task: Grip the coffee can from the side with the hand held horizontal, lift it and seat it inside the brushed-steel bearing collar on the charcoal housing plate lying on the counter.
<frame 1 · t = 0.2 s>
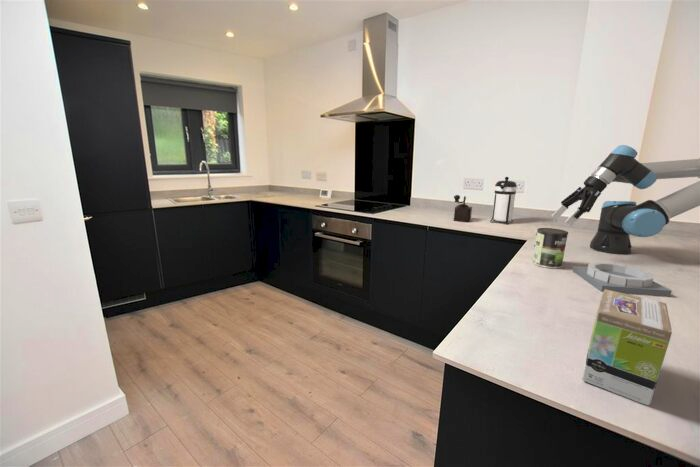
hand: (560, 220, 137), 15 cm above the worktop, tool tilted 35°, fingers open, 13 cm apart
coffee can: (546, 264, 127), on the worktop
coffee press: (501, 222, 211), on the worktop
manual coffee grinder: (461, 221, 213), on the worktop
housing: (616, 282, 109), on the worktop
gear: (543, 248, 150), on the worktop
tea box: (616, 374, 63), on the worktop
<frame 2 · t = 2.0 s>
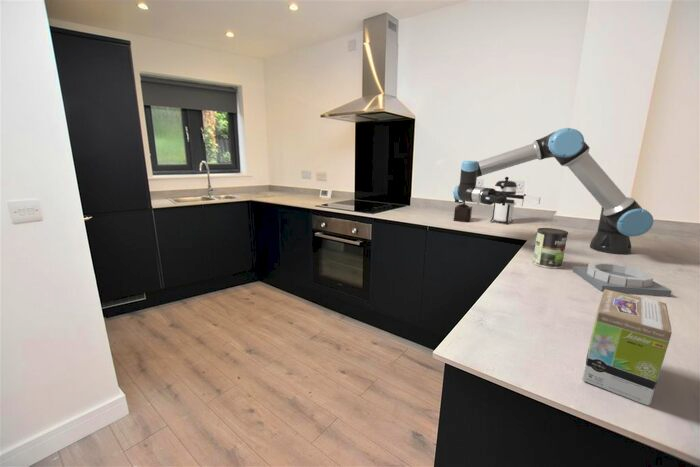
hand: (531, 201, 129), 24 cm above the worktop, tool horizontal, fingers open, 13 cm apart
nothing on the worktop moved.
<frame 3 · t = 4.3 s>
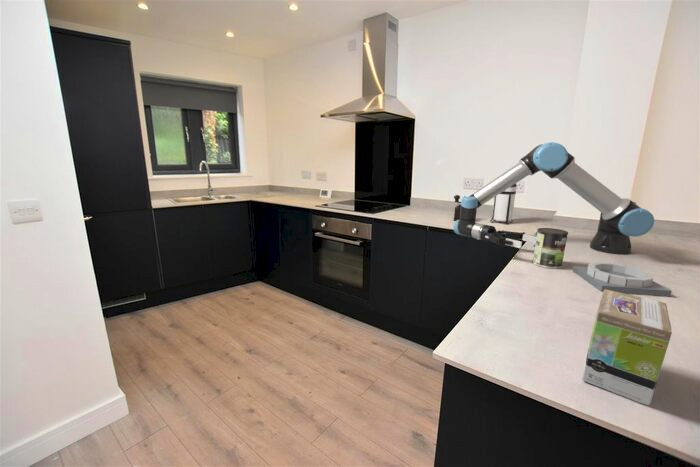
hand: (530, 242, 131), 7 cm above the worktop, tool horizontal, fingers open, 13 cm apart
nothing on the worktop moved.
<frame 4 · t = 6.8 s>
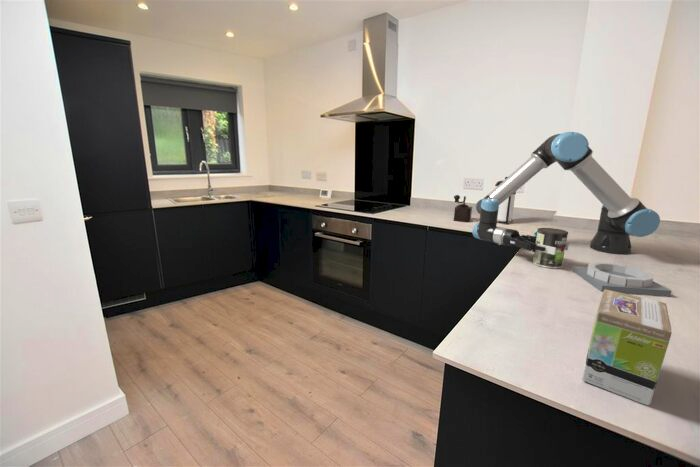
hand: (561, 249, 122), 8 cm above the worktop, tool horizontal, fingers closed on coffee can, 10 cm apart
coffee can: (546, 264, 127), on the worktop, touching gripper
everything else where it was.
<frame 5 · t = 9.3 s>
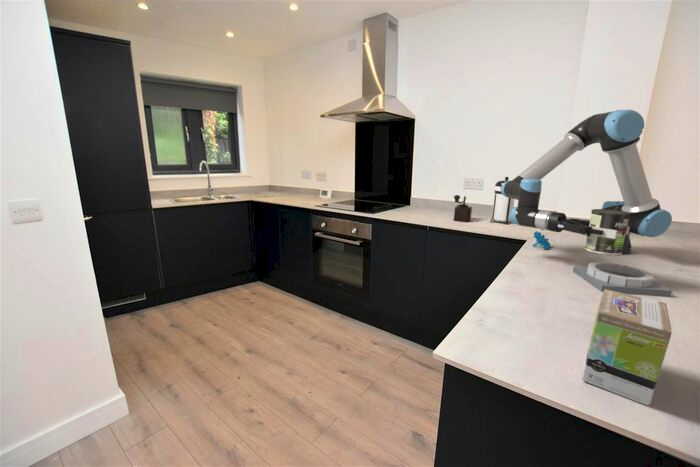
hand: (622, 232, 105), 18 cm above the worktop, tool horizontal, fingers closed on coffee can, 10 cm apart
coffee can: (602, 251, 110), point 10 cm above the worktop, touching gripper
everything else where it was.
when the fingers open (11 cm above the worktop, at t = 11.9 s): coffee can drops 1 cm, resting on housing.
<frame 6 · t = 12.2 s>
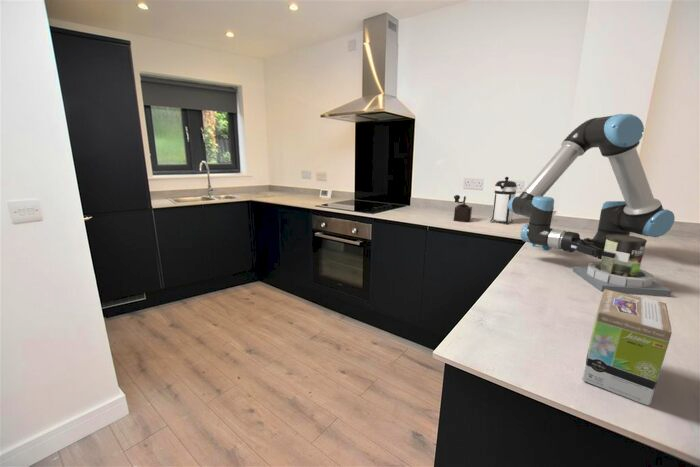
hand: (636, 254, 103), 11 cm above the worktop, tool horizontal, fingers open, 13 cm apart
coffee can: (617, 277, 108), point 2 cm above the worktop, touching housing
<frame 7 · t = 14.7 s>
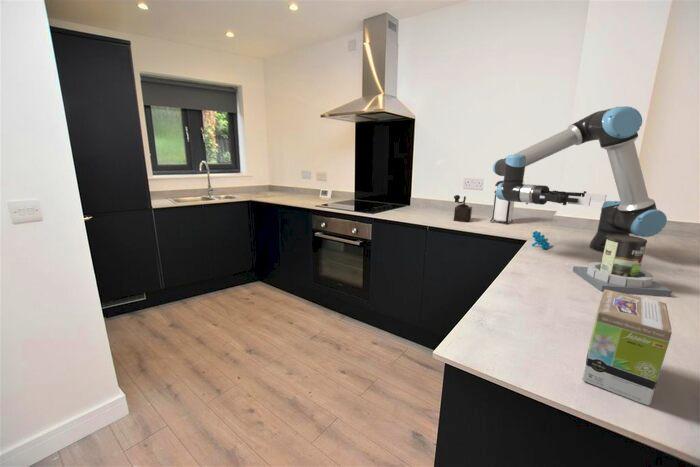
hand: (598, 200, 110), 28 cm above the worktop, tool horizontal, fingers open, 13 cm apart
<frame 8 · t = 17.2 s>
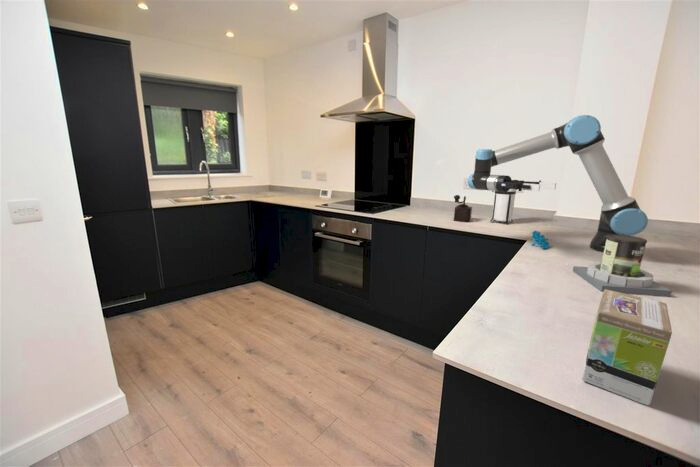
hand: (547, 187, 131), 30 cm above the worktop, tool horizontal, fingers open, 13 cm apart
at the end: coffee can 0.2 cm from the housing (horizontally); coffee can tilted 0°; the gripper is holding nothing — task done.
